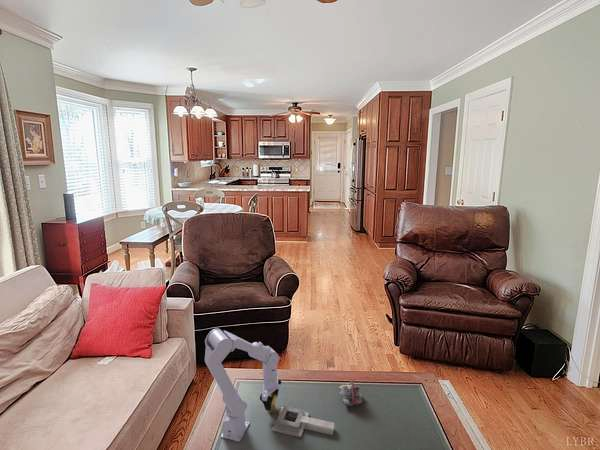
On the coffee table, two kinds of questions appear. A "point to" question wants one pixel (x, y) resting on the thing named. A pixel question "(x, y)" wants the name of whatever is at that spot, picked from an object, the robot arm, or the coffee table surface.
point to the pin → (273, 403)
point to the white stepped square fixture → (300, 423)
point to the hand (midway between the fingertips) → (271, 403)
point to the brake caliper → (351, 394)
